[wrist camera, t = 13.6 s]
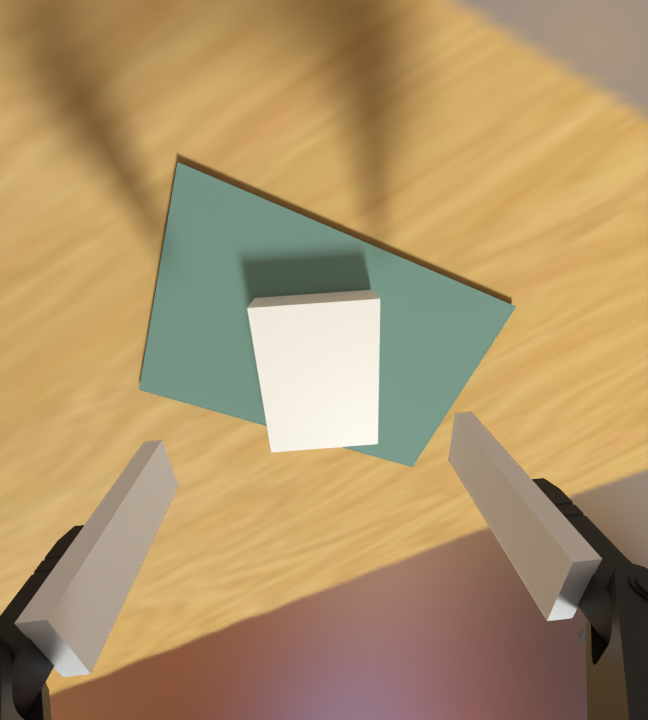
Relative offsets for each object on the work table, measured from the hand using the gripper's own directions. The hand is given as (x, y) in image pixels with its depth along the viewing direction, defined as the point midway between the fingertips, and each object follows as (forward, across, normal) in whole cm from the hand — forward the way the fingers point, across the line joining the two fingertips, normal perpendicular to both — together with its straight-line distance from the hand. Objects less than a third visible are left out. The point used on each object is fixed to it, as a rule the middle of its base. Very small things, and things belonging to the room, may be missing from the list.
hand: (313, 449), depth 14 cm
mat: (+10, +1, +1) cm, 11 cm away
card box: (+8, +1, -6) cm, 10 cm away
